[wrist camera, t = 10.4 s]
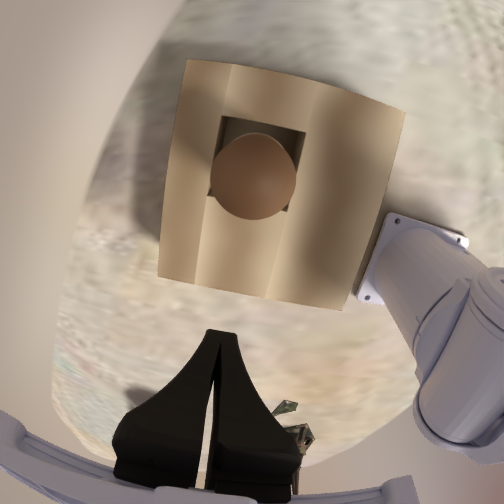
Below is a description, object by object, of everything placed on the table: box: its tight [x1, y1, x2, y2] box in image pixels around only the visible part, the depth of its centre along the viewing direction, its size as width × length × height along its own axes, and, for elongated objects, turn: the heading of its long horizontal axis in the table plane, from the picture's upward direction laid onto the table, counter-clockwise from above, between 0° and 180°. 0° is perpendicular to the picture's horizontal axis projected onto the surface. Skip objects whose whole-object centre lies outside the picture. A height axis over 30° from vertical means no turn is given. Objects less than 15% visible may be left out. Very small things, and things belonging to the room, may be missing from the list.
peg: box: [210, 132, 296, 220], centre depth 16 cm, size 4×4×8 cm
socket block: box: [158, 59, 406, 311], centre depth 19 cm, size 13×14×4 cm
